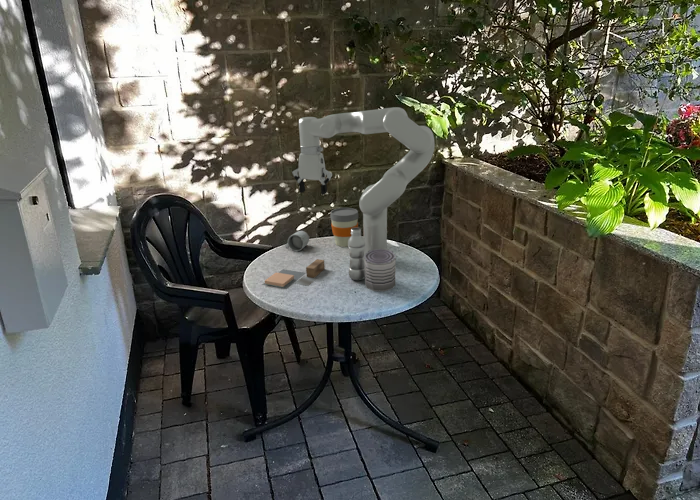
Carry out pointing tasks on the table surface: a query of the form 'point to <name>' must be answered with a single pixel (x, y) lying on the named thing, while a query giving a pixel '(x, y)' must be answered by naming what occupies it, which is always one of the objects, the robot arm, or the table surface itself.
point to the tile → (279, 279)
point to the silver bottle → (356, 255)
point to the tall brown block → (312, 272)
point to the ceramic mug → (298, 241)
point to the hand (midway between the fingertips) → (313, 193)
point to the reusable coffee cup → (343, 224)
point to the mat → (295, 273)
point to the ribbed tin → (380, 270)
